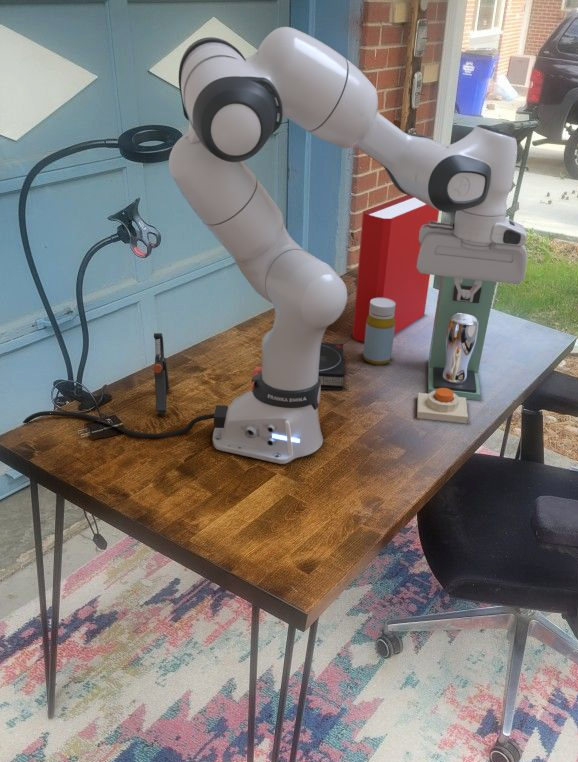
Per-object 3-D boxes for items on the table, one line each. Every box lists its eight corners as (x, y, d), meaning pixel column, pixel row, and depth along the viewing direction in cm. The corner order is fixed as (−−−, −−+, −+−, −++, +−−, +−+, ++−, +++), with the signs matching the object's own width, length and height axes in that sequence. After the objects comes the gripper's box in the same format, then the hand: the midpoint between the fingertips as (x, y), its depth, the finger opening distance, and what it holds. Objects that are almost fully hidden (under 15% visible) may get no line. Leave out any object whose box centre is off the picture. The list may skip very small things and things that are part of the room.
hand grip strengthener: (155, 418, 153) (149, 352, 144) (159, 390, 163) (153, 327, 154) (167, 418, 153) (161, 352, 144) (169, 390, 163) (164, 327, 154)
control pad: (416, 418, 161) (419, 404, 158) (417, 399, 168) (419, 385, 166) (466, 423, 160) (469, 409, 158) (464, 404, 167) (467, 390, 165)
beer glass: (467, 387, 169) (479, 326, 160) (438, 382, 170) (447, 321, 161) (469, 374, 175) (480, 314, 166) (441, 369, 176) (450, 310, 167)
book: (400, 308, 212) (414, 192, 192) (424, 315, 208) (440, 198, 189) (349, 337, 193) (359, 212, 173) (375, 346, 189) (388, 219, 170)
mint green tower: (426, 394, 170) (444, 280, 153) (426, 361, 184) (442, 253, 168) (480, 400, 169) (503, 286, 153) (476, 366, 184) (497, 259, 168)
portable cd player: (271, 387, 167) (271, 371, 165) (276, 355, 181) (276, 340, 179) (342, 391, 168) (343, 375, 166) (341, 358, 182) (343, 344, 179)
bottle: (376, 368, 179) (382, 310, 170) (357, 357, 183) (362, 300, 174) (396, 361, 183) (403, 304, 174) (377, 351, 187) (383, 294, 178)
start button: (434, 402, 161) (435, 395, 160) (434, 393, 164) (435, 386, 163) (452, 404, 160) (453, 397, 159) (452, 395, 164) (453, 388, 163)
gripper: (421, 224, 128) (410, 300, 137) (536, 237, 128) (518, 312, 136) (421, 215, 134) (410, 288, 142) (531, 227, 133) (514, 300, 141)
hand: (464, 300), depth 139 cm, fingers closed
